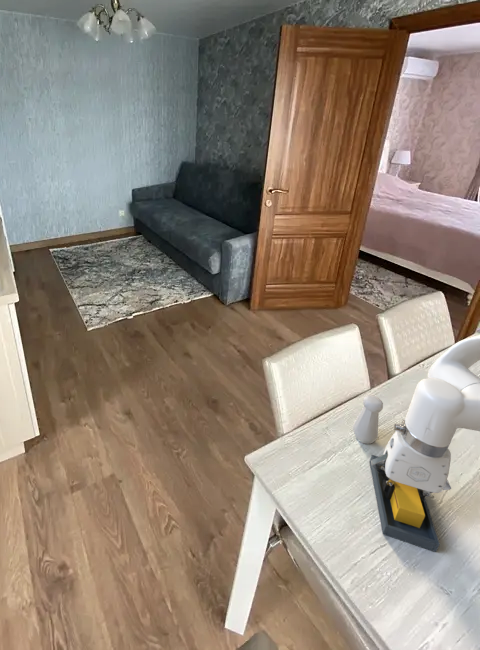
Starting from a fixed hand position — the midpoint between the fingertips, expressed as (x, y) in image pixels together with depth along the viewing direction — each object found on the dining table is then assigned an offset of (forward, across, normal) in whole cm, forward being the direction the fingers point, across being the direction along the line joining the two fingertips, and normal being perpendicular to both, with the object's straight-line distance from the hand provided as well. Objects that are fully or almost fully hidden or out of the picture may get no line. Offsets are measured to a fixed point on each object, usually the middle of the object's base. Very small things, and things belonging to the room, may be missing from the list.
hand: (400, 496), depth 74 cm
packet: (0, 0, 0) cm, 0 cm away
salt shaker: (+2, -5, +15) cm, 16 cm away
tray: (+2, 0, 0) cm, 2 cm away
